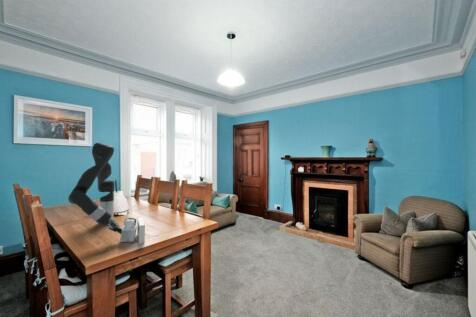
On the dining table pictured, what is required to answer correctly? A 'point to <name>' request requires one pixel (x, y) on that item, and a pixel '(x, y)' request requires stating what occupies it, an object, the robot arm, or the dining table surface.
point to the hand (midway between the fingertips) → (123, 233)
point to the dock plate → (141, 230)
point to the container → (128, 230)
